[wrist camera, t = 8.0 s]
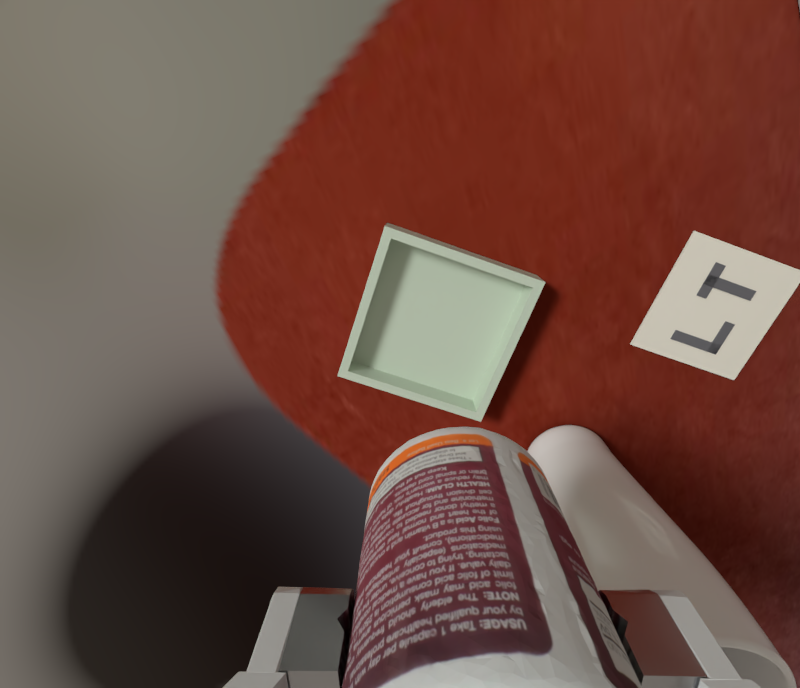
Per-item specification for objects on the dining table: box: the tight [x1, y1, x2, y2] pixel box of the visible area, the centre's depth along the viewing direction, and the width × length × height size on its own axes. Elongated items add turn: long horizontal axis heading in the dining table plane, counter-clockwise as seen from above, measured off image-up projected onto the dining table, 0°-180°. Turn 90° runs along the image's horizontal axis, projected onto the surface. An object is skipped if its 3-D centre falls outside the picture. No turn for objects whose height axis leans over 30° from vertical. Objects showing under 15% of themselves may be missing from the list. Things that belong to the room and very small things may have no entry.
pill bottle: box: [342, 427, 642, 688], centre depth 8 cm, size 5×5×8 cm
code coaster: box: [630, 231, 800, 380], centre depth 26 cm, size 7×7×1 cm
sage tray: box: [338, 223, 546, 422], centre depth 26 cm, size 9×9×2 cm
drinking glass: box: [527, 425, 796, 688], centre depth 22 cm, size 7×7×15 cm
